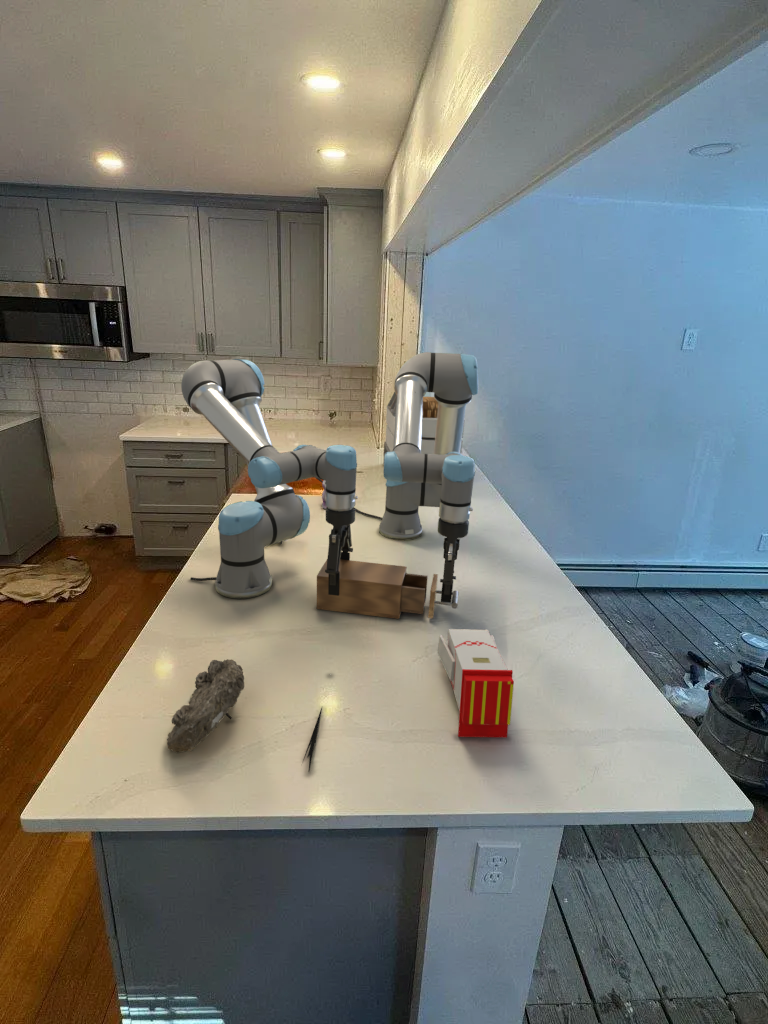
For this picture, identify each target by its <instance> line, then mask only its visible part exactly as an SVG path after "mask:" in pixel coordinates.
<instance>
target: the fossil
mask: <svg viewBox="0 0 768 1024" xmlns="http://www.w3.org/2000/svg"><path fill="white" fill-rule="evenodd" d="M243 670H244V669H243V667H242V665H240V664H237V662H236V661H235V660H234V659H232V658H231V659H227V658H226V659H224V660H223V661H222V660H217V659H212V660H211V661H210V663H209V665H208V666H207V671H201V672H199V673H198V674H197V675H196V676H195V680H194V684H195V685H194V687H195V689H194V690H193V693H192V694H191V697H190V698H189V700H188V704H184V705H182V706H181V707H180V709H177V710H176V711H175V713H174V715H173V716H172V718H171V723H172V724H173V727H172V730H171V731H170V732H168V734H167V738H166V741H167V742H166V745H167V749H168V750H169V751H173V752H174V753H176V754H178V753H182V752H188V751H189V752H192V751H193V750H195V748H196V747H197V746H199V744H200V743H201V742H203V741H204V740H205V739H206V738H207V737H208V736H209V735H210V734H211V733H212V732H214V730H215V729H217V727H218V726H219V724H220V722H221V721H222V720H223V719H224V718H225V716H226V717H227V719H229V720H233V717H232V715H230V714H229V710H230V709H231V708H234V706H235V704H236V703H237V702H238V699H239V697H240V695H241V693H242V691H243V690H245V689H244V688H245V675H244V671H243Z"/></svg>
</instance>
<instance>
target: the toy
mask: <svg viewBox="0 0 768 1024" xmlns="http://www.w3.org/2000/svg"><path fill="white" fill-rule="evenodd" d="M446 640H447V643H446V641H445V639H444V636H443V635H442V634H439V637H438V646H437V656H438V657H439V659H440V661H441V663H442V666H443V668H444V670H445V672H446V674H447V677H448V679H449V681H450V684H451V687H452V690H453V693H454V697H455V701H456V705H457V708H458V711H459V714H458V715H459V716H458V730H457V731H458V732H457V737H458V738H508V731H509V726H510V725H511V717H512V707H513V697H514V696H513V695H514V684H515V680H514V679H513V673H514V671H513V670H512V669H508V667H507V665H506V662H505V661H504V659H503V658H502V655H501V653H500V651H499V649H498V647H497V643H496V639H495V637H494V635H493V634H491V632H490V631H489V629H467V628H466V629H465V628H463V629H461V628H460V629H459V628H448V630H447V639H446Z"/></svg>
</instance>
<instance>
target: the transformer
mask: <svg viewBox="0 0 768 1024" xmlns="http://www.w3.org/2000/svg"><path fill="white" fill-rule="evenodd" d="M396 403H397V395H396V393H395V391H394V392H393V394H392V395H391V398H390V400H389V402H388V404H387V405H386V413H385V414H386V415H385V423H386V428H385V438H384V442H383V458H384V457H385V453H386V452H392V451H393V440H394V428H395V416H396ZM437 413H438V402H437V401H436V400H435V398H434V396H423V413H422V437H421V454H434V446H435V435H436V424H437ZM464 422H465V419H464ZM464 429H465V424H464V425H463V433H462V439H463V438H464V431H465V430H464ZM463 442H464V441H463V440H462V442H461V450H460V454H462V453H463ZM383 465H384V462H383Z"/></svg>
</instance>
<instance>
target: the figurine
mask: <svg viewBox="0 0 768 1024" xmlns="http://www.w3.org/2000/svg"><path fill="white" fill-rule="evenodd" d="M322 481H323V483H322V482H321V484H322V485H321V486H322V488H323V491H322V493H321V499H322V503H321V507H322V509H325V510H326V507H327V506H326V481H325V480H322Z"/></svg>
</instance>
